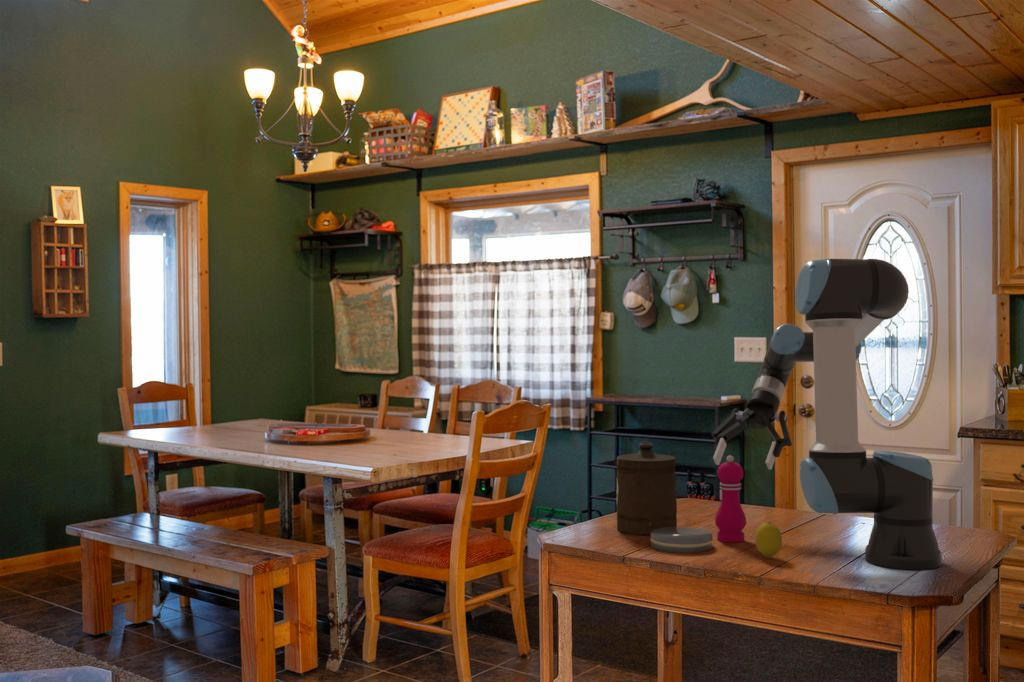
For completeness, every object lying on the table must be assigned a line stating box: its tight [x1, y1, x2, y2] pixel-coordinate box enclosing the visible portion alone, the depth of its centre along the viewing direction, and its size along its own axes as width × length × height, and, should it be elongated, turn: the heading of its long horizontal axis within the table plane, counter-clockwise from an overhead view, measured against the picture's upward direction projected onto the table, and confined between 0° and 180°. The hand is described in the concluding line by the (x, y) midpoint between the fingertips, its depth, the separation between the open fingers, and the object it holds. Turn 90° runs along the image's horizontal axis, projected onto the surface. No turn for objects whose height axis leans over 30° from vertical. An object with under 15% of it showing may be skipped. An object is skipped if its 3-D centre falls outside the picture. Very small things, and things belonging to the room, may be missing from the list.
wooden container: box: [616, 440, 678, 536], centre depth 245 cm, size 15×15×22 cm
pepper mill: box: [714, 455, 747, 544], centre depth 232 cm, size 7×7×20 cm
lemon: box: [755, 521, 783, 559], centre depth 213 cm, size 6×6×8 cm
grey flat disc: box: [650, 526, 713, 554], centre depth 226 cm, size 14×14×3 cm
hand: (741, 464), depth 238 cm, fingers open, 13 cm apart
